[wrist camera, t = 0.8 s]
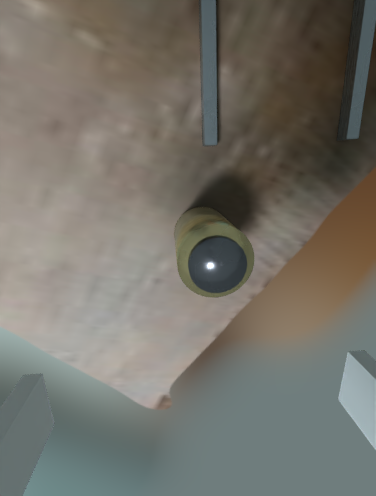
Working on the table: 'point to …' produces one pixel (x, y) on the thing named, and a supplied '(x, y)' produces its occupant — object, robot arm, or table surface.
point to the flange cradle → (359, 52)
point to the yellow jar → (211, 253)
